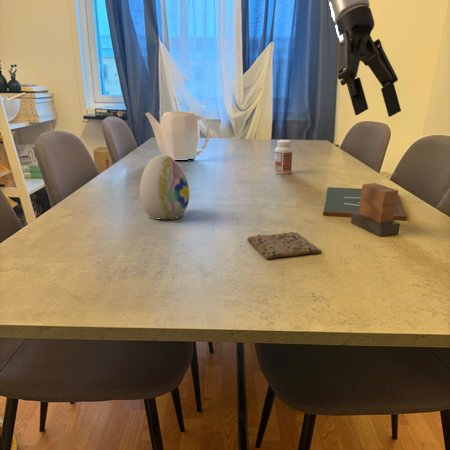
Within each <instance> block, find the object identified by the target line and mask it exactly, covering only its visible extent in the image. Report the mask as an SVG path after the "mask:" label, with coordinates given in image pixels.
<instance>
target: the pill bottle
mask: <svg viewBox="0 0 450 450" xmlns="http://www.w3.org/2000/svg"><path fill="white" fill-rule="evenodd" d="M291 144H292V142H291V140H290V139H279V140H277V146H276V148H275V149H274V168H273V169H274V173H275V174H277V175H278V174H280V175H284V174H285V175H286V174H291V172H292V165H293V164H292V162H293V148H292V147H291Z"/></svg>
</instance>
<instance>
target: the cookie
mask: <svg viewBox="0 0 450 450" xmlns="http://www.w3.org/2000/svg"><path fill="white" fill-rule="evenodd" d="M246 238H247V239H246V240H247V242H248V243H249V244H250V245H251V246H252V247H253V248H254V249H255V250H256V251H257V252H259V253H260V255H261V256H263V258H264V259H266V260H271V259H276V258H280V257H295V256H303V255H308V254H322V253H323V252H322V249H320V247H318V246H316V245H315V244H314V243H312V242H311V241H309V240H307V239H306V238H305V237H303V236H302V235H301V234H299V233H298V232H293V231H290V232H281V233H275V234H273V233H272V234H257V235H253V236H248V237H246Z"/></svg>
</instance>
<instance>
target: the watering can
mask: <svg viewBox="0 0 450 450" xmlns="http://www.w3.org/2000/svg"><path fill="white" fill-rule="evenodd" d="M144 115H145V116H146V117H147V119H148V121H149V123H150V125H151V128H152V131H153V134H154V138H155V142H156V144H157V147H158V150H159V151H160V152H161V153H163V154H164V155H167V156H170V157H171V158H173V159H194V158H195V159H196V158H197V157H198V156H199V155H201V154H202V153H203V152H204V151H205V150H206V149H207V147H208V145H209V142H210V138H211V137H210V135H211V134H210V127H209V124H208V121H207V119H206V118H205V117H204V116H203V115H201V114H199V113H198V114H196V113H195V112H194V111H188V110H181V111H180V110H178V111H177V110H175V111H166V112H163V114H162V116H161V120H160V123H159V121H158V120H157V119H156V118H155V117H154V115H153V114H151V113H150V111H147V112H144ZM200 120H202V122H203V123H204V125H205V129H206V136H205V140H204V144H203V145H202V147H201V149H199V144H200V135H201V134H200V133H201V131H200V130H201V129H200V124H199V121H200ZM195 159H194V160H195Z"/></svg>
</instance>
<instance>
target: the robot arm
mask: <svg viewBox="0 0 450 450" xmlns="http://www.w3.org/2000/svg"><path fill="white" fill-rule="evenodd" d="M327 1H328V4H329V8H330V11H331V18H332V19H333V22H334V24H335V31H336V34H337V37H336V38H335V42H336V45H337V46H336V47H337V62H336V63H337V65H336V67H337V68H336V69H337V71H336V77H337V79H338V80H339V82H340V86H345V85H346V87H347V91H348V94H349V97H350V101H351V105H352V108H353V112H354V115H355V116H359V115H360V114H362V113H364V112H365V111H367V110H369V105H368V101H367V98H366V94H365V91H364V87H363V84H362V80H361V78H360V77H357V76H358V72H359V67H360V62H361V63H362V64H363V65H364V66H367V67H368V68H369V69H370V71H371V72H372V73H373V75H374V76H375V78H376V79H377V81H378V82H379V83H380V85H381V87H382V88H380V90H381V94H382V98H383V102H384V105H385V108H386V112H387V116H388V117H389V118H391V117H393V116H395V115H396V114H399V113H400V112H402V109H401V105H400V102H399V101H400V100H399V97H398V93H397V90H396V87H395V83H397V82H398V80H399V78H398V76H397V74H396V72H395V69H394V68H393V65H392V64H391V61H390V60H389V58H388V56H387V54H386V52H385V50H384V48H383V44H382V42H381V39H380V38H377V39H376V40H373V38H372V36H371V33H372V31H373V30H374V29H375V24H376V23H375V20H374V16H373V13H372V9H371V8H370V1H369V0H327Z"/></svg>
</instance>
